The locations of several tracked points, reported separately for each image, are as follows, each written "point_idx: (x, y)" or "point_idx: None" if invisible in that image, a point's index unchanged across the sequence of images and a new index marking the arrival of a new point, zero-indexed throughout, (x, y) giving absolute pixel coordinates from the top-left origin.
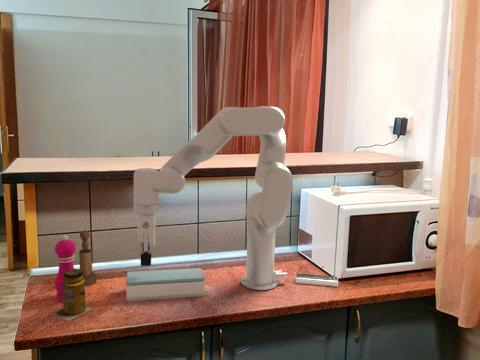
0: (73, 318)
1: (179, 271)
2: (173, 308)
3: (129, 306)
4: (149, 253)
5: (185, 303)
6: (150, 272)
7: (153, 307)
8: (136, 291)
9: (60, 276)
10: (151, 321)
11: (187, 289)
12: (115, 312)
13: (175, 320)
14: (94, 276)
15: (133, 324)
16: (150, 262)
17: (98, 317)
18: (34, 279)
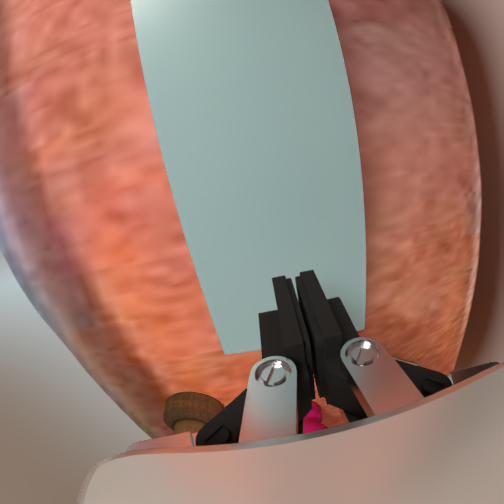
0: (409, 363)
1: (187, 59)
2: (403, 93)
3: (377, 259)
4: (377, 348)
5: (360, 44)
6: (223, 248)
7: (394, 171)
8: None
9: None
10: (470, 170)
11: None
12: (407, 288)
13: (469, 95)
14: (194, 410)
15: (474, 220)
16: (318, 284)
17: (421, 319)
18: None
